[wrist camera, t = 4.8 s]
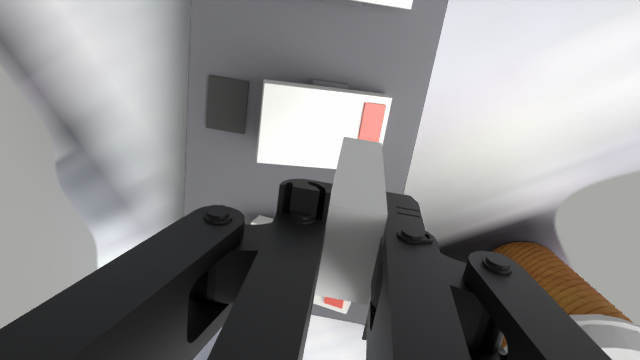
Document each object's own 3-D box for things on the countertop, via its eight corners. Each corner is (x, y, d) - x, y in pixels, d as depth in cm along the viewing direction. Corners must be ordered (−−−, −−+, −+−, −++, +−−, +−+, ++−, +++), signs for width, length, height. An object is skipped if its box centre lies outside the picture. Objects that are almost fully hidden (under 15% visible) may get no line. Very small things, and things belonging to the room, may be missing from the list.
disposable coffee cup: (449, 332, 34) (488, 485, 23) (451, 222, 31) (497, 338, 20) (579, 332, 33) (686, 494, 22) (595, 218, 30) (731, 338, 19)
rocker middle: (263, 79, 24) (264, 83, 22) (385, 93, 25) (392, 98, 24) (256, 155, 25) (257, 163, 24) (371, 165, 27) (377, 173, 25)
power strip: (218, -159, 25) (193, -188, 21) (468, -124, 24) (485, -149, 20) (197, 266, 35) (177, 294, 31) (372, 299, 34) (372, 332, 30)
